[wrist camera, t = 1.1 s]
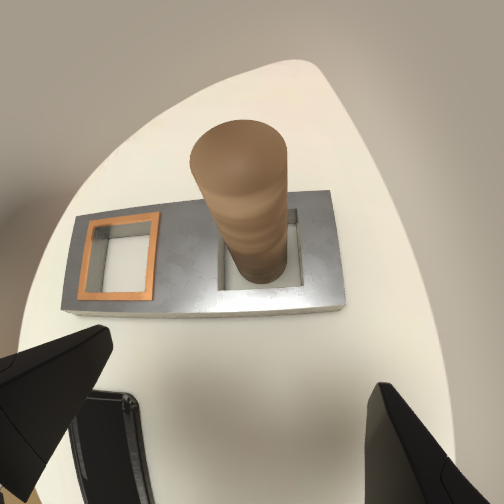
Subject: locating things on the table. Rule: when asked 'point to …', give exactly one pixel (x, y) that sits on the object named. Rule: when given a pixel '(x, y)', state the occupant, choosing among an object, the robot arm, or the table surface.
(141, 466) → the phone
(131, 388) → the table surface
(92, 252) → the plate with square holes
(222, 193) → the peg
